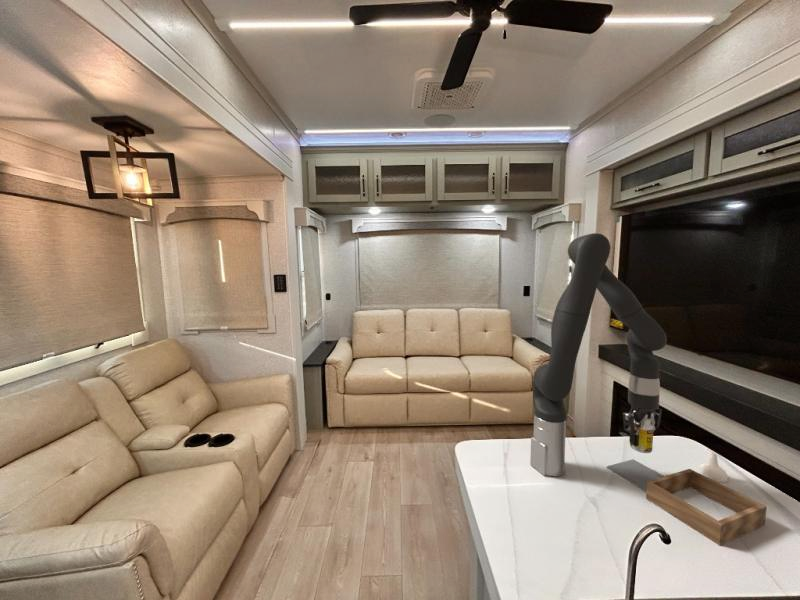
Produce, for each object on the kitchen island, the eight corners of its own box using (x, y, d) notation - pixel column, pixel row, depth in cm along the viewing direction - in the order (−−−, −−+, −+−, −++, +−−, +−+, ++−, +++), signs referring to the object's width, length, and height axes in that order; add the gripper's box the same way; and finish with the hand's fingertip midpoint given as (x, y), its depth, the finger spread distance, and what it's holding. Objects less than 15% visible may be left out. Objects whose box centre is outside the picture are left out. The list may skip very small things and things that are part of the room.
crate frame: (719, 545, 72) (721, 525, 72) (645, 498, 87) (646, 481, 87) (764, 525, 78) (766, 506, 77) (688, 484, 93) (689, 468, 92)
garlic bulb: (731, 487, 92) (736, 462, 91) (704, 480, 95) (709, 456, 94) (719, 475, 98) (724, 451, 97) (693, 468, 100) (698, 445, 100)
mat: (645, 491, 90) (645, 490, 90) (606, 467, 101) (606, 466, 101) (673, 482, 94) (674, 481, 94) (633, 460, 105) (633, 459, 105)
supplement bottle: (648, 456, 93) (649, 423, 92) (626, 447, 98) (627, 416, 97) (655, 450, 96) (656, 418, 95) (634, 442, 101) (635, 411, 100)
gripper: (647, 383, 101) (644, 433, 103) (614, 388, 97) (612, 441, 98) (673, 391, 94) (670, 445, 96) (639, 397, 90) (637, 454, 91)
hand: (641, 442), depth 97 cm, fingers closed on supplement bottle, 5 cm apart
